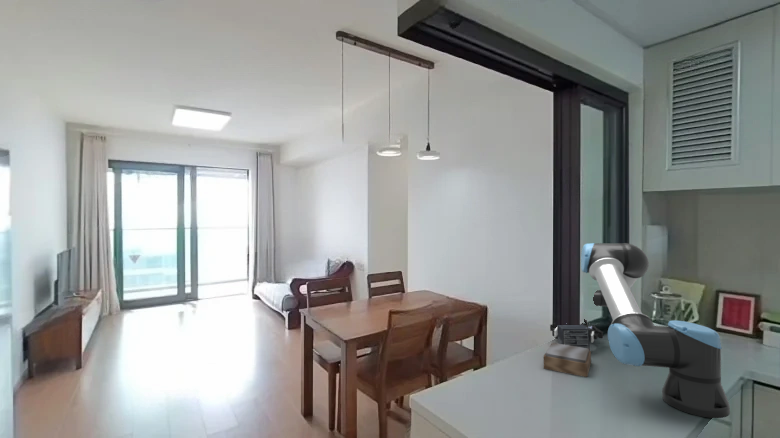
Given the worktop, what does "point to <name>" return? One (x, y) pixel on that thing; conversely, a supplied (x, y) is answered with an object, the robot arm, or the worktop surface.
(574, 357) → the base
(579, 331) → the small box
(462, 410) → the worktop surface
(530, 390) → the worktop surface
